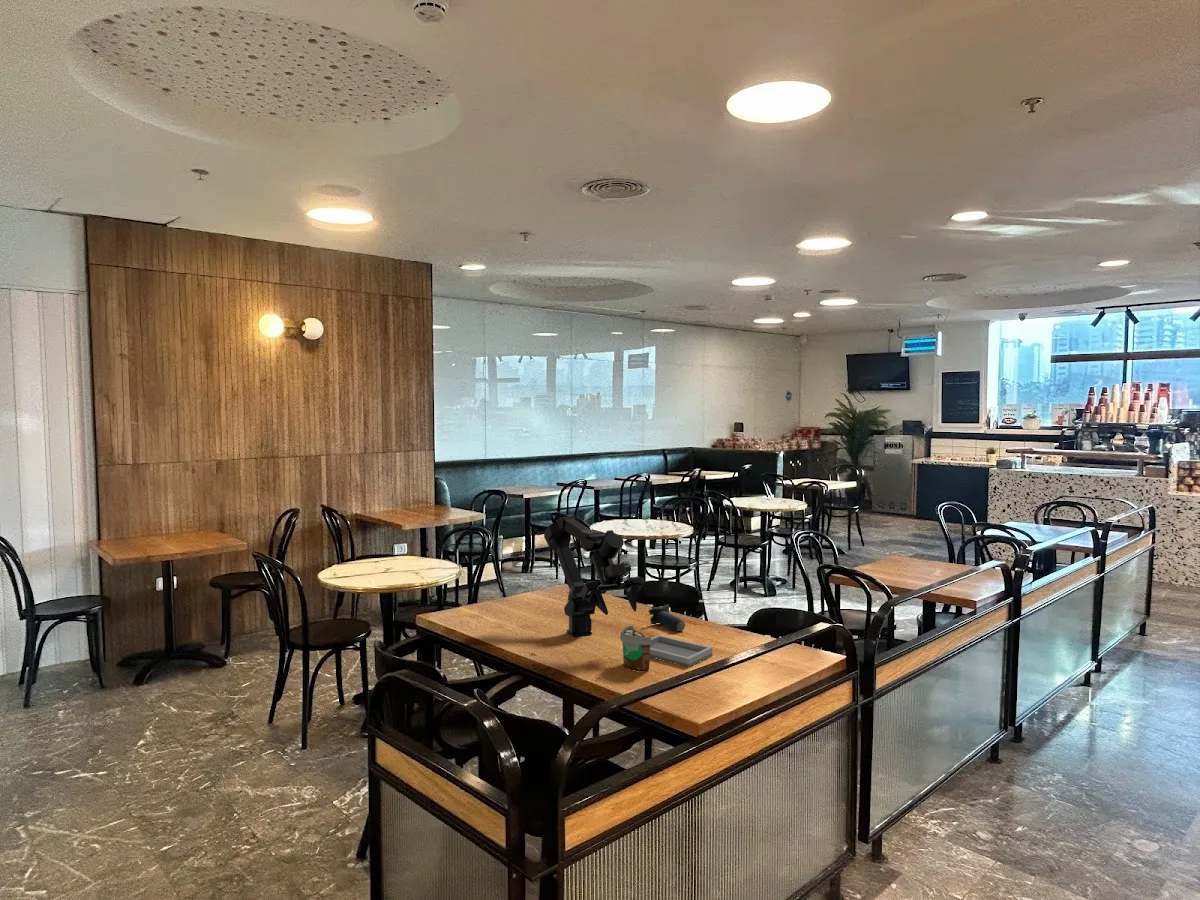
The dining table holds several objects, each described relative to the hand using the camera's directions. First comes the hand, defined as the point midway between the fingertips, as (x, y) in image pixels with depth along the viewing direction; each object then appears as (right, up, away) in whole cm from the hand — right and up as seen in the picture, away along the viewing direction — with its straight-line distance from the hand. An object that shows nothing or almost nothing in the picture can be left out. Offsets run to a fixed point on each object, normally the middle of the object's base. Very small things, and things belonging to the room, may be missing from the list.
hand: (621, 612), depth 213 cm
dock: (+15, -13, +4) cm, 21 cm away
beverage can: (+17, -12, +32) cm, 38 cm away
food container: (+3, -14, -7) cm, 16 cm away
